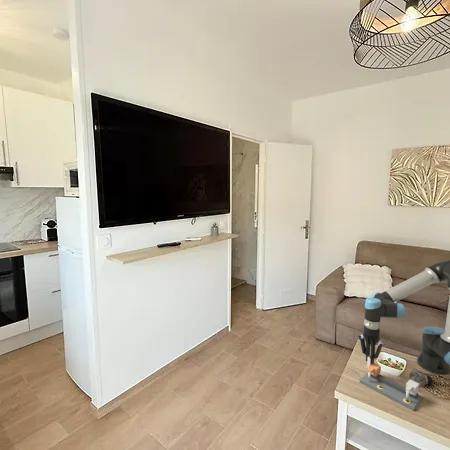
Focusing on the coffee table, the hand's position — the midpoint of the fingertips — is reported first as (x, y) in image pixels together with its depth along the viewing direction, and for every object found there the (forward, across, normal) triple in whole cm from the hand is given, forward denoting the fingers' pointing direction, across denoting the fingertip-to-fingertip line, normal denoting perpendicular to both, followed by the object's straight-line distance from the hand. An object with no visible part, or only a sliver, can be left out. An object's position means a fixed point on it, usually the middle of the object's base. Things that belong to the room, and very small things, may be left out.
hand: (369, 367), depth 150 cm
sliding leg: (+3, +3, -2) cm, 5 cm away
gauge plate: (+5, +12, -2) cm, 13 cm away
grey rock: (+6, +18, +18) cm, 26 cm away
